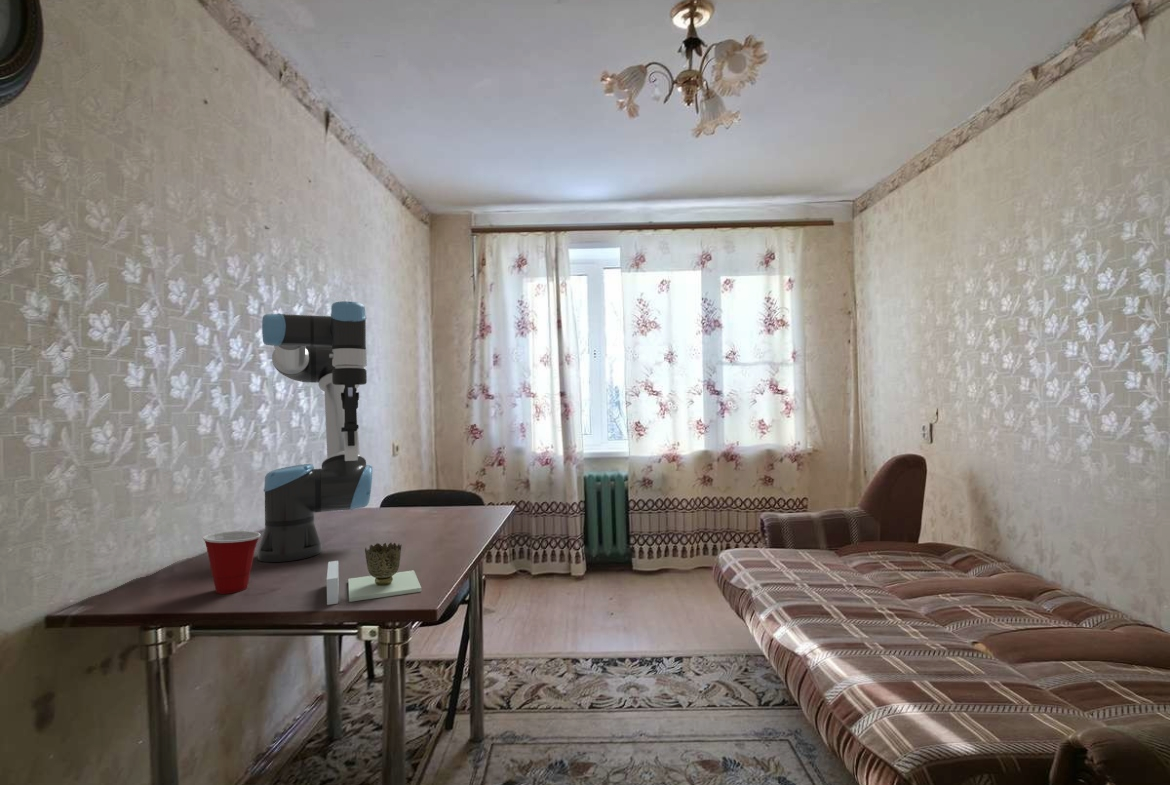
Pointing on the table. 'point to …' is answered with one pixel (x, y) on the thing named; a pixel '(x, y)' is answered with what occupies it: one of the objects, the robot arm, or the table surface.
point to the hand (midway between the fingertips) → (350, 458)
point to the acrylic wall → (332, 583)
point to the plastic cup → (231, 559)
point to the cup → (383, 562)
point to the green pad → (383, 586)
